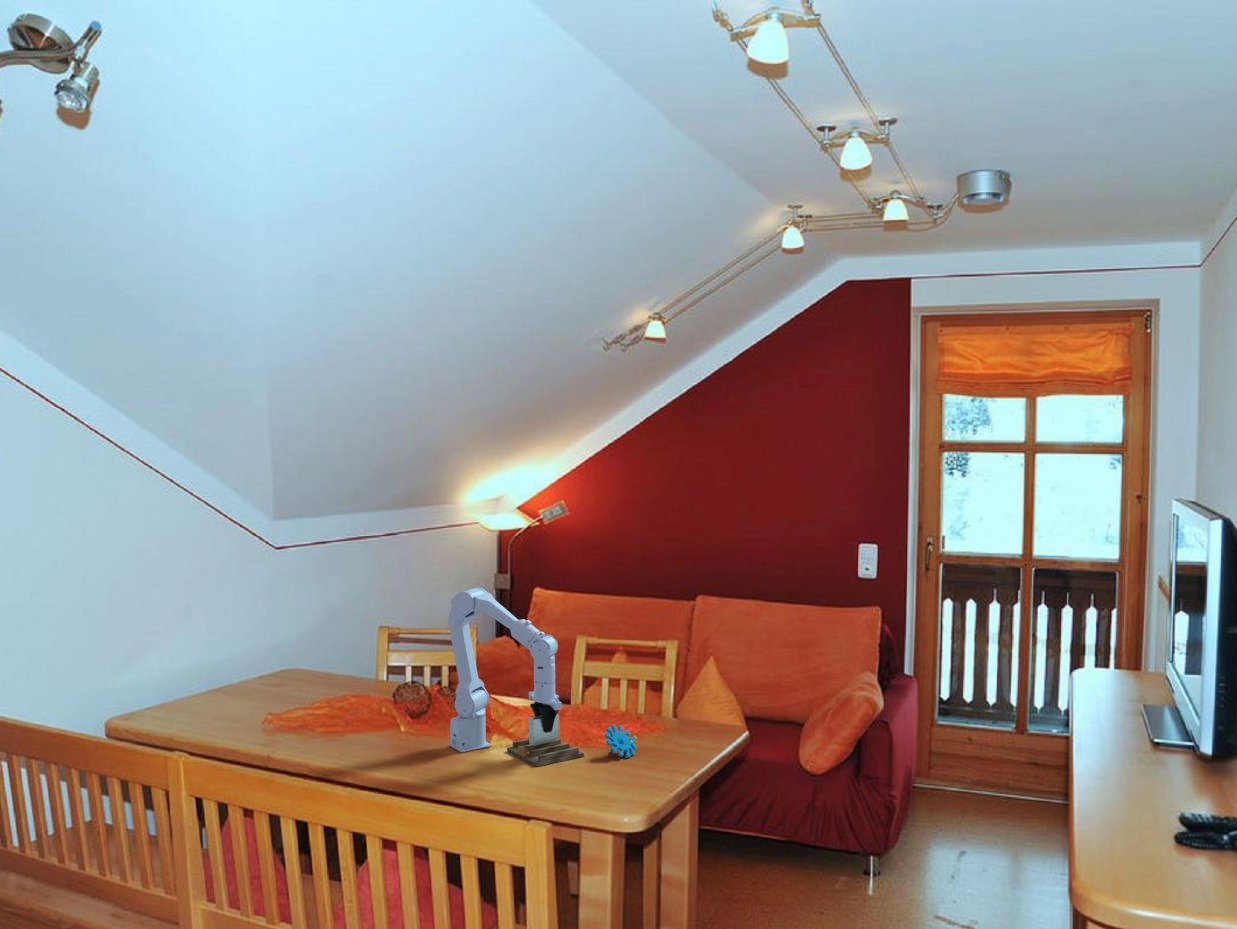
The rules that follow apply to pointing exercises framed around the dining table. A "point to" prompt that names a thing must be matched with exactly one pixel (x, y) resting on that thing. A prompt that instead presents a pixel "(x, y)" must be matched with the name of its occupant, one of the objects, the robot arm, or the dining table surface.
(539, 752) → the slot rack
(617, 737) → the gear
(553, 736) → the panel
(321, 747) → the dining table surface
